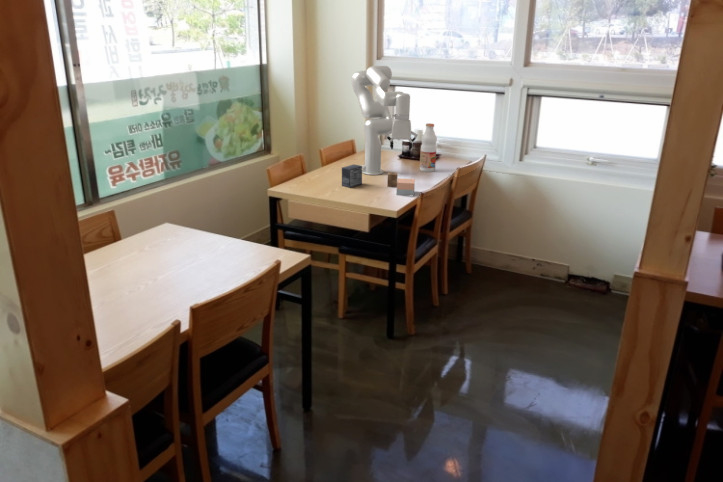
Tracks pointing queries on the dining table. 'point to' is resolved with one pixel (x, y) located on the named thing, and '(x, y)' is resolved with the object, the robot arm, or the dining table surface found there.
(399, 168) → the dining table surface
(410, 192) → the tower base
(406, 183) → the tower top
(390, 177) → the block
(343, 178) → the small box
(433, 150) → the fruit juice
